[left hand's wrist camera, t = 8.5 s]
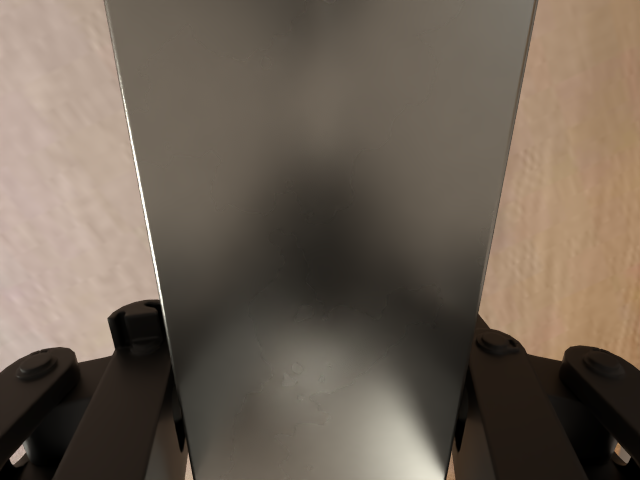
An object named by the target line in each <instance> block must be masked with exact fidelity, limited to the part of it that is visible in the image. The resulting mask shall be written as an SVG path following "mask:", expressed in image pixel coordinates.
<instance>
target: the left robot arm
mask: <svg viewBox="0 0 640 480" xmlns="http://www.w3.org/2000/svg"><path fill="white" fill-rule="evenodd" d="M107 319H108V323H109V327H110V330H111V334H112V338H113V342H114V346H115V351H114V353H113V355H112V356H108V357H104V358H100V359H95V360H90V361H85V362H80V363H78V362H77V358H76V355H75V352H73V351H72V350H71V349H70V348H63V347H57V348H47V349H43V350H41V351H36V352H33V353H31V354H29V355H27V356H25V357H23V358H21V359H19V360H17V361H16V362H14V363H13V364H11V365H10V366H8V367H7V368H5V369H4V370H3V371H2V372H1V373H0V480H185V472H186V464H187V456H188V448H187V442H186V437H185V432H184V426H183V421H182V416H181V410H180V405H179V400H178V394H177V389H176V384H175V378H174V373H173V368H172V362H171V357H170V352H169V346H168V341H167V336H166V330H165V325H164V320H163V314H162V309H161V304H160V300H143V301H138V302H134V303H131V304H128V305H126V306H123V307H121V308H120V309H118V310H116V311H115V312H113V313H112V314H111V315H110V316H109V317H108V318H107ZM617 443H619V444H620V445H621V446H622V447H623V448H624V449H625V451H626V452H627V453H628V454H629V455H630V456H631V458H630V460H629V462H628V463H625V462H624V461H623V460H622V459H621V458H620V457H619V456H618V455H617V454H616V453H615V452H614V450H615V447H616V445H617ZM22 444H23V446H24V449H25V451H26V453H25V454H24V456H23V457H22V458H21V459H20V460H19V461H18V462H17V463H15V464H14V465H12V464H11V462H10V459H9V458H10V457H11V456H12V455H13V454H14V453H15V452H16V450H17V449H18V448H19V447H20V446H21V445H22ZM452 455H453V463H454V471H455V479H456V480H640V371H639V370H638V369H637V368H636V367H634V366H633V365H632V364H630V363H629V362H627V361H626V360H624V359H623V358H621V357H619V356H617V355H614V354H612V353H610V352H609V351H606V350H603V349H599V348H596V347H589V346H573V347H570V348H568V349H567V350H566V351H565V353H564V357H563V360H562V361H558V360H553V359H548V358H543V357H538V356H533V355H530V354H527V353H526V350H525V349H524V347H523V346H522V345H521V344H520V342H519V341H517V340H516V339H514V338H513V337H511V336H510V335H508V334H505V333H503V332H501V331H498V330H493V329H490V328H489V327H488V325H487V324H486V323H485V322H484V320H483V319H482V318H481V317H480V315H479V314H478V316H477V322H476V327H475V332H474V337H473V342H472V348H471V353H470V358H469V363H468V368H467V374H466V379H465V384H464V389H463V394H462V400H461V405H460V410H459V415H458V420H457V426H456V431H455V436H454V441H453V446H452Z"/></svg>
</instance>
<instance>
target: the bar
mask: <svg viewBox="0 0 640 480" xmlns="http://www.w3.org/2000/svg"><path fill="white" fill-rule="evenodd" d="M537 4H538V0H104V5H105V10H106V15H107V21H108V26H109V31H110V37H111V42H112V47H113V53H114V58H115V63H116V69H117V74H118V79H119V85H120V90H121V95H122V101H123V106H124V111H125V117H126V122H127V127H128V133H129V138H130V143H131V149H132V154H133V159H134V165H135V170H136V175H137V181H138V186H139V191H140V197H141V202H142V207H143V213H144V218H145V224H146V229H147V234H148V240H149V245H150V250H151V256H152V261H153V266H154V272H155V277H156V282H157V288H158V293H159V298H160V304H161V309H162V314H163V320H164V325H165V330H166V336H167V341H168V346H169V352H170V357H171V362H172V368H173V373H174V378H175V384H176V389H177V394H178V400H179V405H180V410H181V416H182V421H183V426H184V432H185V437H186V442H187V448H188V453H189V459H190V464H191V469H192V475H193V480H446V478H447V473H448V467H449V462H450V457H451V452H452V446H453V441H454V436H455V431H456V426H457V420H458V415H459V410H460V405H461V400H462V394H463V389H464V384H465V379H466V374H467V368H468V363H469V358H470V353H471V348H472V342H473V337H474V332H475V327H476V322H477V316H478V311H479V306H480V301H481V296H482V290H483V285H484V280H485V275H486V269H487V264H488V259H489V254H490V249H491V243H492V238H493V233H494V228H495V223H496V217H497V212H498V207H499V202H500V197H501V191H502V186H503V181H504V176H505V171H506V165H507V160H508V155H509V150H510V145H511V139H512V134H513V129H514V124H515V119H516V113H517V108H518V103H519V98H520V92H521V87H522V82H523V77H524V72H525V66H526V61H527V56H528V51H529V46H530V40H531V35H532V30H533V25H534V20H535V14H536V9H537Z"/></svg>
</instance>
